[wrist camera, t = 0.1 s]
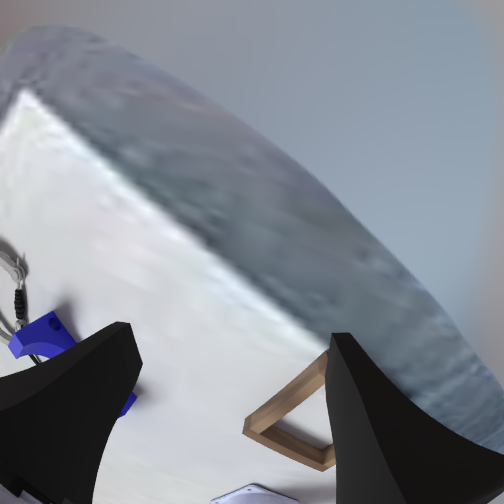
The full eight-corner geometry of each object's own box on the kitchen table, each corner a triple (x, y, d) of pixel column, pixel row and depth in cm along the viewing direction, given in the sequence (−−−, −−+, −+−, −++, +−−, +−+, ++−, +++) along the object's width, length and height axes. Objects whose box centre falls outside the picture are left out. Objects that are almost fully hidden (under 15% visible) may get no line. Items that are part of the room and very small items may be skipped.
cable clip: (137, 396, 24) (110, 435, 18) (115, 408, 25) (89, 443, 19) (58, 302, 23) (18, 325, 17) (44, 323, 24) (7, 346, 18)
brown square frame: (321, 458, 23) (322, 472, 21) (245, 418, 22) (242, 433, 21) (398, 402, 21) (404, 415, 19) (325, 350, 20) (329, 364, 18)
